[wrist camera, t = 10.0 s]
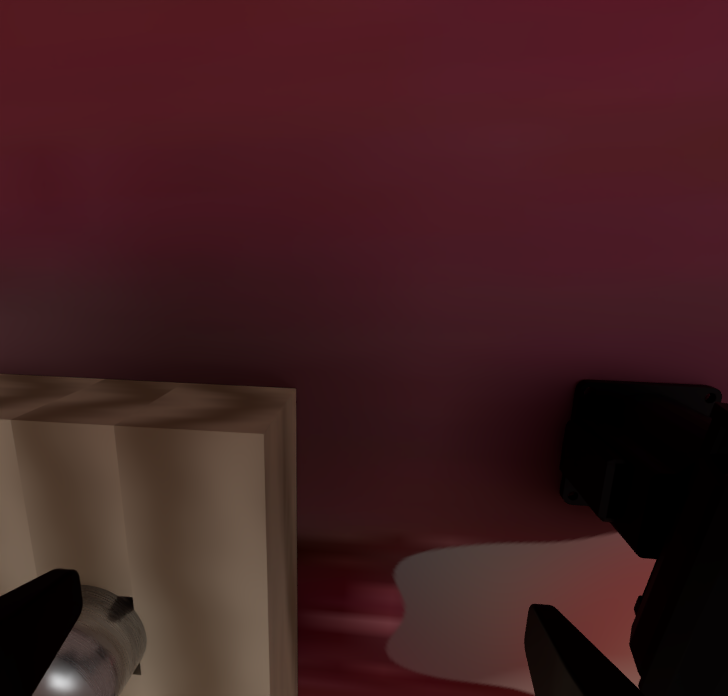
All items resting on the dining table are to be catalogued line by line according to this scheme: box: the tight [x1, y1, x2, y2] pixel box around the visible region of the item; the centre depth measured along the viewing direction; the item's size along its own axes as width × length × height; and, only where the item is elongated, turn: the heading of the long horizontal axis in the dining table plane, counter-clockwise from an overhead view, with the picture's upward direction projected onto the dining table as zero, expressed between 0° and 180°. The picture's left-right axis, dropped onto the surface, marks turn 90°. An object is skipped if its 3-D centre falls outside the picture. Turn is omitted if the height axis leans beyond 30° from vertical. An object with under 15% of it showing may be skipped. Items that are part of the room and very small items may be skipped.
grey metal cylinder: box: [32, 585, 147, 696], centre depth 19 cm, size 5×5×8 cm
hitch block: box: [0, 374, 298, 696], centre depth 21 cm, size 16×20×6 cm
